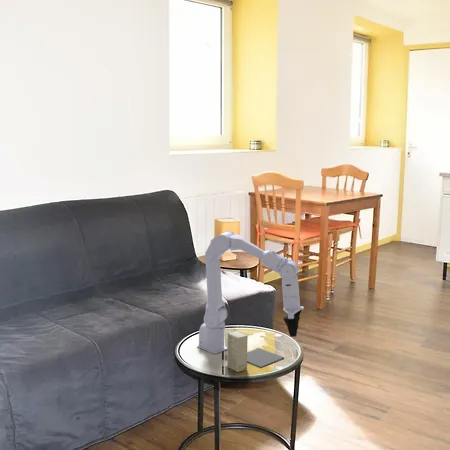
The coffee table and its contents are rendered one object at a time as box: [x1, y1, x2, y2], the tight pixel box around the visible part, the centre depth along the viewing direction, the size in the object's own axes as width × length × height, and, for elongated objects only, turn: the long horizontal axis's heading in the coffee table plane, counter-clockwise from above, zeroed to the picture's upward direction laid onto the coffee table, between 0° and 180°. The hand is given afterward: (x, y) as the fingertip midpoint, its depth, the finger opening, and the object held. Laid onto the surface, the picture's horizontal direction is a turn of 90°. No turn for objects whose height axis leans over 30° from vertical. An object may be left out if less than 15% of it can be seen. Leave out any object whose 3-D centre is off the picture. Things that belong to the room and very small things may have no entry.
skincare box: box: [226, 330, 248, 373], centre depth 195 cm, size 6×4×12 cm
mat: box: [247, 347, 285, 369], centre depth 206 cm, size 12×13×1 cm
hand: (294, 332), depth 202 cm, fingers open, 7 cm apart
